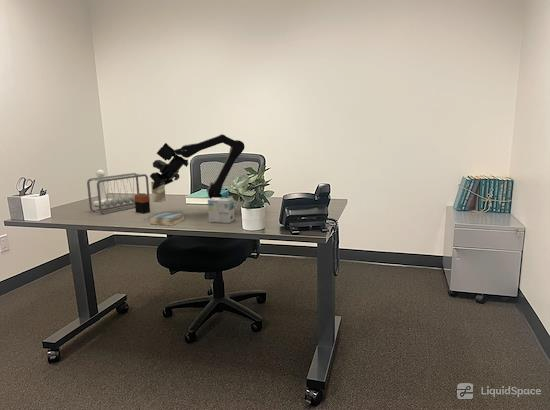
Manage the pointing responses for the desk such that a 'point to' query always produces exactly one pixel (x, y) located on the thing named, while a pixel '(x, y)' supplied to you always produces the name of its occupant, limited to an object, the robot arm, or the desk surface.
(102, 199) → the joystick
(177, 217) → the foundation plinth
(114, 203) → the newton's cradle
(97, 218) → the desk surface
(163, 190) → the birch snap block
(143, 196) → the battery
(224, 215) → the light bulb box
